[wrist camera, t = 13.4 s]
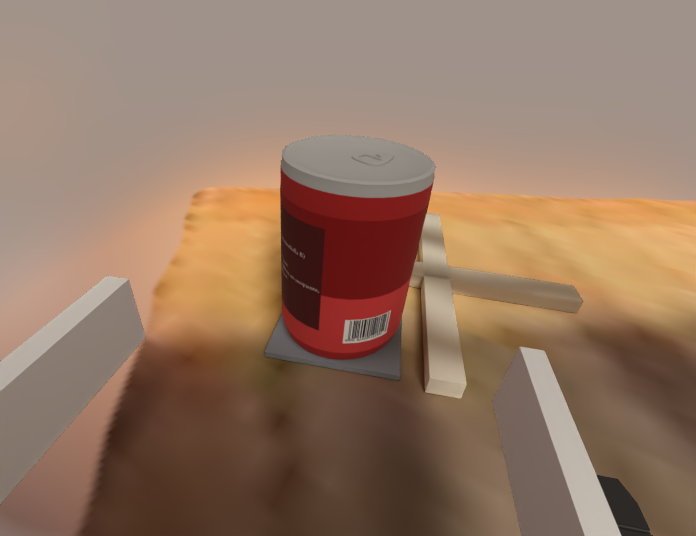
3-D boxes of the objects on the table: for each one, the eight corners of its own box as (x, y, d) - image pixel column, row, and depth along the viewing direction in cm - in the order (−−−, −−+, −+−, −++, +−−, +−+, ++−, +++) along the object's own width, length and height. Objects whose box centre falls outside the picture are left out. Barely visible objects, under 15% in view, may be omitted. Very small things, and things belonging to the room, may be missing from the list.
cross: (326, 208, 39) (326, 198, 39) (532, 239, 38) (537, 229, 37) (253, 361, 21) (252, 346, 20) (646, 432, 20) (658, 418, 19)
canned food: (414, 306, 26) (453, 153, 20) (369, 385, 20) (405, 199, 14) (322, 272, 29) (331, 126, 22) (257, 332, 23) (246, 155, 16)
